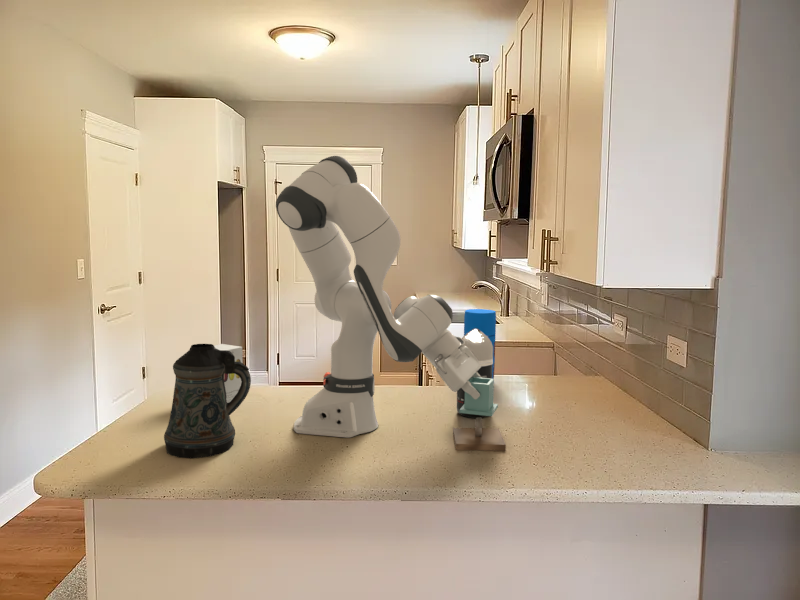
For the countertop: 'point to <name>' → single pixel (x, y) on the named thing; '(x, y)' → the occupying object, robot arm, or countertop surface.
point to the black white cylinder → (484, 354)
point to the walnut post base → (478, 438)
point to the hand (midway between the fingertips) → (481, 393)
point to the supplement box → (233, 380)
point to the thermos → (482, 325)
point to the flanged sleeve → (480, 398)
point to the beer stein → (204, 402)
